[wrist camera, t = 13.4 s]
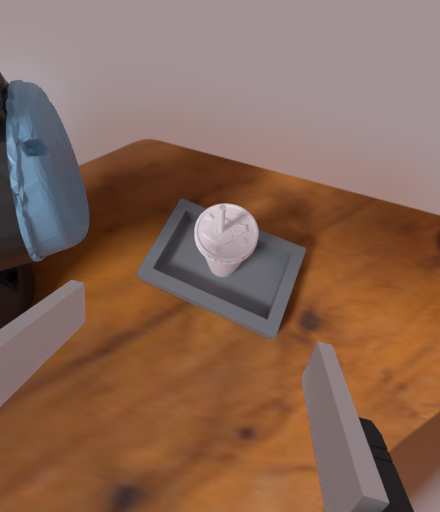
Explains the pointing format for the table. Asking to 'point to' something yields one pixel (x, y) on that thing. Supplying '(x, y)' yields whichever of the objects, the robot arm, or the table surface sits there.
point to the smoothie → (226, 237)
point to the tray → (224, 288)
